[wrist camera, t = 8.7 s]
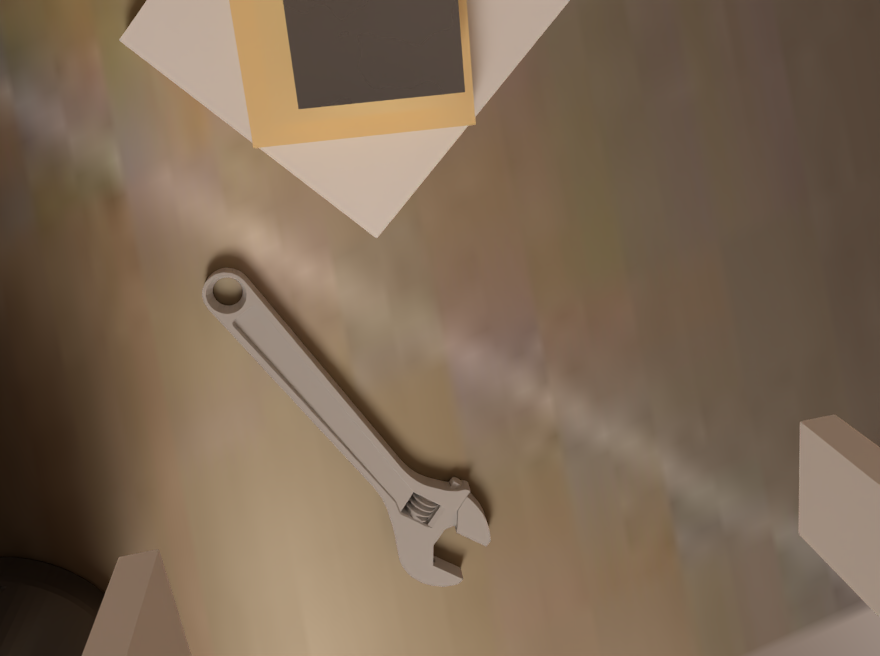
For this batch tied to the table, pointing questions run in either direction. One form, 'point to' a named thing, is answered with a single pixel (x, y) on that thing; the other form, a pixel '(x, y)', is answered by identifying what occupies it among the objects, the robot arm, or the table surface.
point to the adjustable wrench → (354, 436)
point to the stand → (332, 127)
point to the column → (373, 50)
